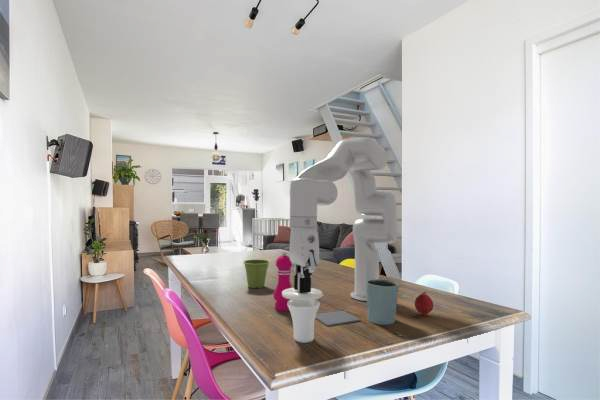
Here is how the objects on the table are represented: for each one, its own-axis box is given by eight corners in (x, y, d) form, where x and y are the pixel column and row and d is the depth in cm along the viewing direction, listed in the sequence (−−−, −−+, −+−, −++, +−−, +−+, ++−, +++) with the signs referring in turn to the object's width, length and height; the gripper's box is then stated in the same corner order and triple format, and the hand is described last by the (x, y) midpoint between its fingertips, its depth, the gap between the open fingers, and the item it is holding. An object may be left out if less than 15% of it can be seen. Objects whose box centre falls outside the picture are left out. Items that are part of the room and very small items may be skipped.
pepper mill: (291, 311, 112) (292, 253, 113) (270, 310, 114) (271, 252, 114) (295, 305, 120) (296, 250, 120) (276, 304, 121) (277, 249, 121)
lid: (310, 288, 97) (311, 268, 98) (329, 297, 87) (330, 275, 88) (276, 292, 93) (276, 270, 93) (292, 302, 83) (292, 278, 83)
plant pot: (239, 289, 143) (239, 263, 143) (247, 283, 155) (248, 258, 155) (265, 290, 141) (266, 264, 141) (272, 284, 153) (272, 259, 153)
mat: (342, 311, 113) (342, 310, 113) (360, 321, 104) (360, 319, 104) (311, 316, 108) (311, 314, 108) (327, 326, 99) (327, 324, 99)
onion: (424, 319, 107) (424, 294, 107) (410, 314, 112) (411, 290, 112) (437, 316, 109) (437, 292, 110) (423, 311, 114) (423, 288, 115)
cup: (327, 340, 89) (327, 302, 89) (298, 348, 83) (299, 308, 84) (307, 329, 96) (307, 295, 96) (280, 336, 91) (280, 300, 91)
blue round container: (363, 314, 111) (363, 278, 111) (393, 315, 110) (394, 279, 111) (368, 325, 101) (369, 285, 101) (402, 326, 100) (402, 286, 101)
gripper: (330, 224, 85) (329, 296, 84) (302, 222, 99) (301, 283, 99) (304, 225, 82) (303, 299, 81) (279, 222, 96) (278, 285, 96)
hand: (302, 290), depth 90 cm, fingers closed on lid, 2 cm apart
